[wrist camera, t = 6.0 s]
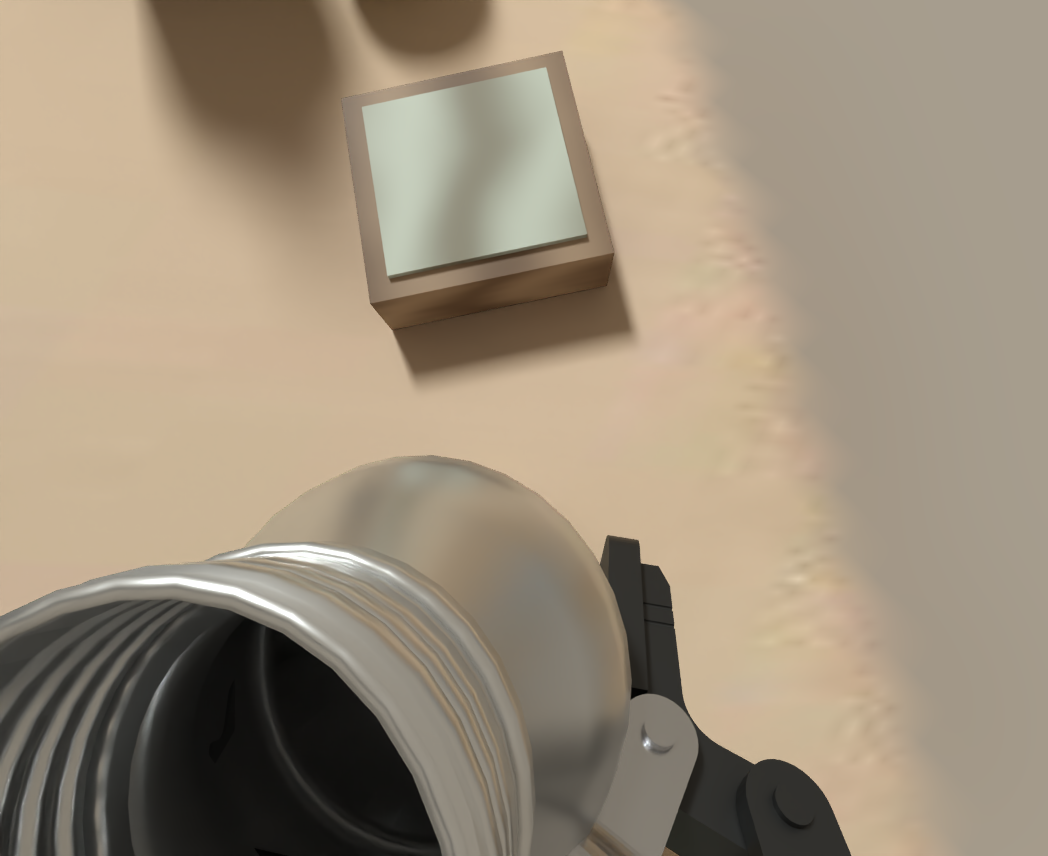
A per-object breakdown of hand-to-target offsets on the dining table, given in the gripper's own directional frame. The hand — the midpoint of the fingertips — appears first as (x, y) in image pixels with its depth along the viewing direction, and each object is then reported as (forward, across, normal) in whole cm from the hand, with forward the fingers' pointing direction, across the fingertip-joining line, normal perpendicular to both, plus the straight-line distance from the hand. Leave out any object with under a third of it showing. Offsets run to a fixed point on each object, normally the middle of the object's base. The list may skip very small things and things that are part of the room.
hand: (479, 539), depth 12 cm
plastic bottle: (+6, 0, +9) cm, 11 cm away
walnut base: (+19, +4, -4) cm, 19 cm away
